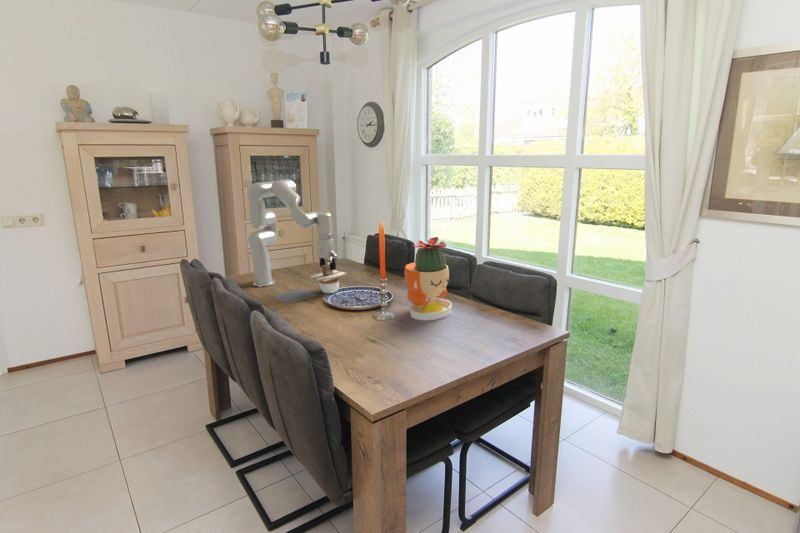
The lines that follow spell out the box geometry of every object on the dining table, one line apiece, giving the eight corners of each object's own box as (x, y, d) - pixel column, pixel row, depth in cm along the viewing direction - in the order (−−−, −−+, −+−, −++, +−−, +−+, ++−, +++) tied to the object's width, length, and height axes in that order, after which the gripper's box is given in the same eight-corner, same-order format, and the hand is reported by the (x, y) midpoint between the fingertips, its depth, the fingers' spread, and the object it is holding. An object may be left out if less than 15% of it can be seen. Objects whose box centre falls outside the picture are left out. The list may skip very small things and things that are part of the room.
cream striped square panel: (271, 296, 244) (271, 295, 244) (301, 289, 255) (301, 288, 255) (288, 304, 231) (288, 303, 230) (318, 295, 242) (318, 295, 242)
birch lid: (309, 277, 245) (307, 267, 243) (332, 270, 254) (330, 260, 253) (324, 282, 234) (322, 271, 232) (348, 274, 243) (346, 264, 242)
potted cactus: (460, 309, 214) (459, 236, 205) (429, 324, 198) (428, 245, 189) (424, 300, 228) (423, 231, 219) (393, 313, 212) (390, 239, 204)
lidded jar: (341, 289, 251) (340, 273, 249) (337, 296, 241) (336, 278, 238) (322, 289, 252) (321, 273, 250) (317, 296, 242) (316, 279, 240)
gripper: (310, 235, 243) (313, 266, 247) (328, 239, 230) (331, 272, 234) (322, 233, 247) (325, 264, 252) (340, 237, 235) (343, 269, 239)
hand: (328, 268), depth 243 cm, fingers open, 9 cm apart
